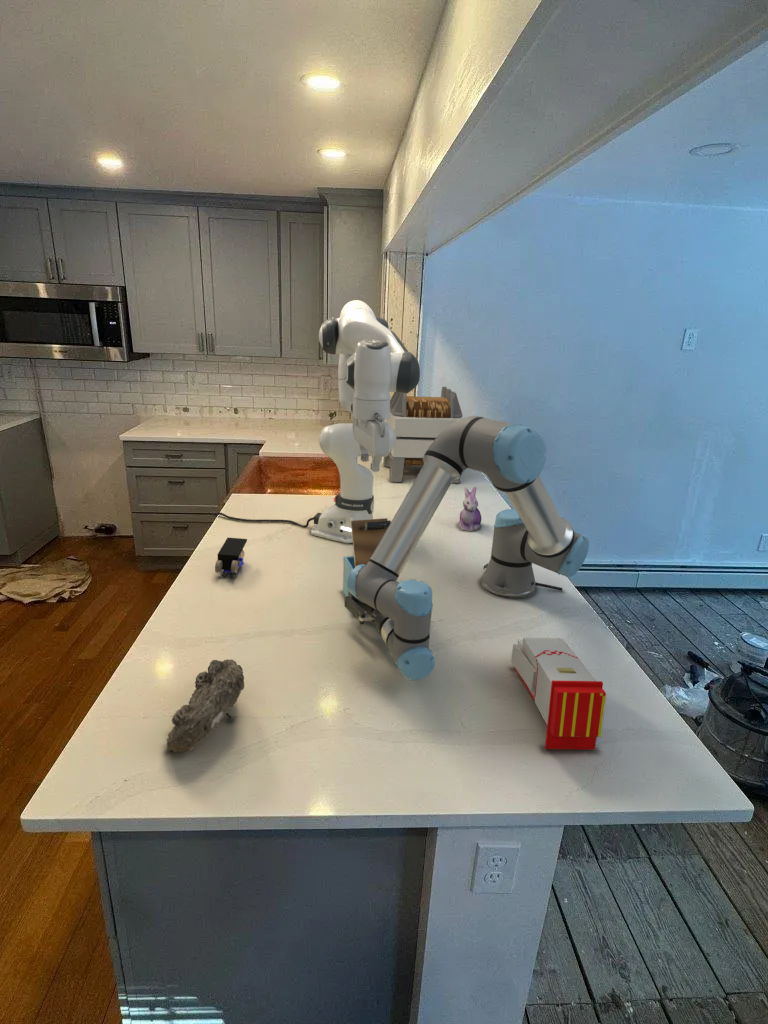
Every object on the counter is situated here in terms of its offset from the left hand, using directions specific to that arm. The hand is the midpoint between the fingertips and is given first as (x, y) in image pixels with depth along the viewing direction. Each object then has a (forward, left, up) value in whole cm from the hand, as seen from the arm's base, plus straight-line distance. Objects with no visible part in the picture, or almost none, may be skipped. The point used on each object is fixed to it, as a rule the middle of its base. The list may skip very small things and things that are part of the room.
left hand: (369, 465), depth 141 cm
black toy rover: (-42, +4, -38) cm, 57 cm away
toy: (+48, -28, -38) cm, 67 cm away
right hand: (+2, -3, -31) cm, 31 cm away
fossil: (-13, -54, -38) cm, 67 cm away
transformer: (-14, +130, -38) cm, 136 cm away
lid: (+2, -3, -20) cm, 21 cm away
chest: (0, -1, -38) cm, 38 cm away
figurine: (+19, +66, -38) cm, 79 cm away
